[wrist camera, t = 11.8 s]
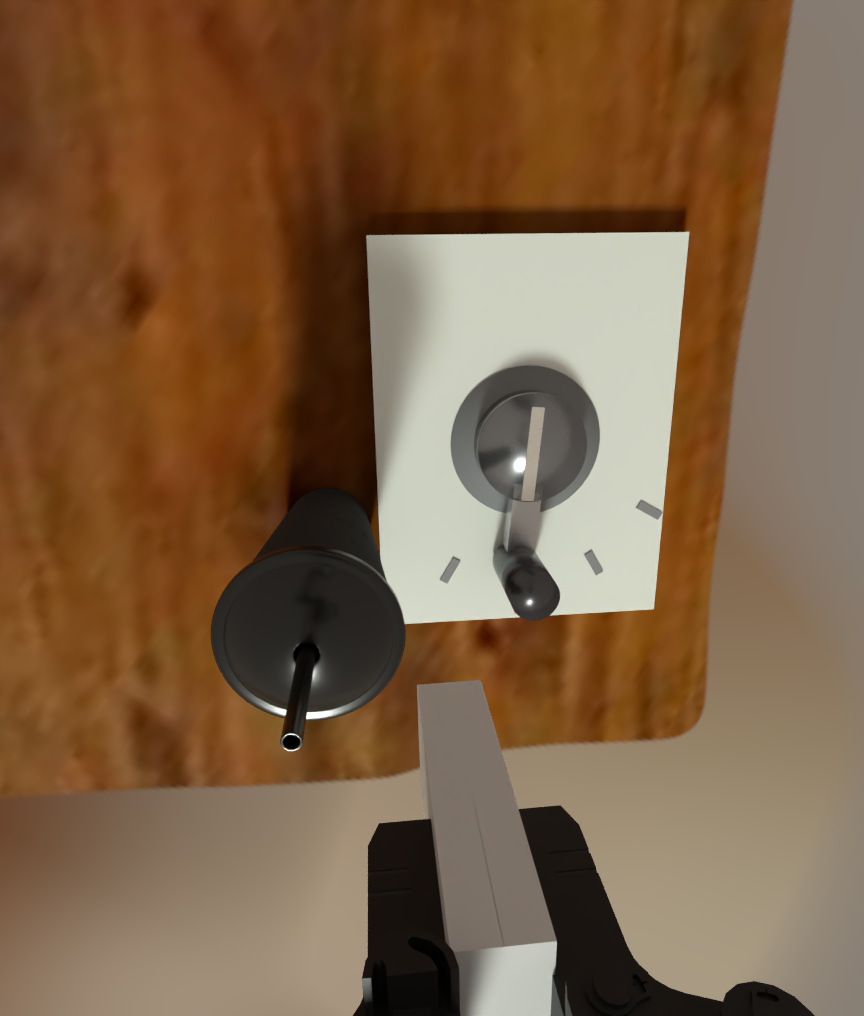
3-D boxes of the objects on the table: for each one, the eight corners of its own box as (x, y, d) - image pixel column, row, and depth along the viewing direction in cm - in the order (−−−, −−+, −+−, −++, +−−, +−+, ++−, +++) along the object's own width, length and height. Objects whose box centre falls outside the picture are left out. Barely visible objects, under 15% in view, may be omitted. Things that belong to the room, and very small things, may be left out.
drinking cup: (367, 601, 41) (366, 865, 22) (246, 563, 39) (131, 809, 20) (412, 490, 39) (454, 672, 20) (287, 445, 37) (202, 595, 18)
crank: (478, 386, 36) (497, 401, 31) (585, 392, 36) (621, 408, 31) (461, 576, 39) (475, 619, 34) (559, 579, 40) (588, 621, 35)
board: (366, 237, 34) (366, 235, 33) (679, 234, 36) (690, 231, 34) (383, 616, 41) (383, 625, 40) (646, 600, 42) (654, 609, 41)
